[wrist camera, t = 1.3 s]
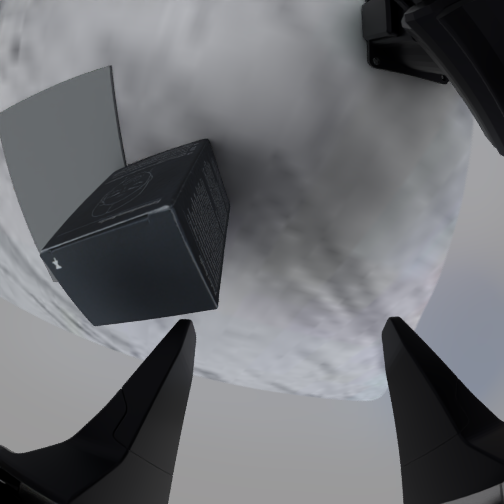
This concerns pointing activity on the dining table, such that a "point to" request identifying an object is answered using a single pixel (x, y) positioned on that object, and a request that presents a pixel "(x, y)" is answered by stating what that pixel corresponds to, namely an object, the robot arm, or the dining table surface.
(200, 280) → the box
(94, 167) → the mat
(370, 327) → the dining table surface
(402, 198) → the dining table surface
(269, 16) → the dining table surface
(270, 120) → the dining table surface
